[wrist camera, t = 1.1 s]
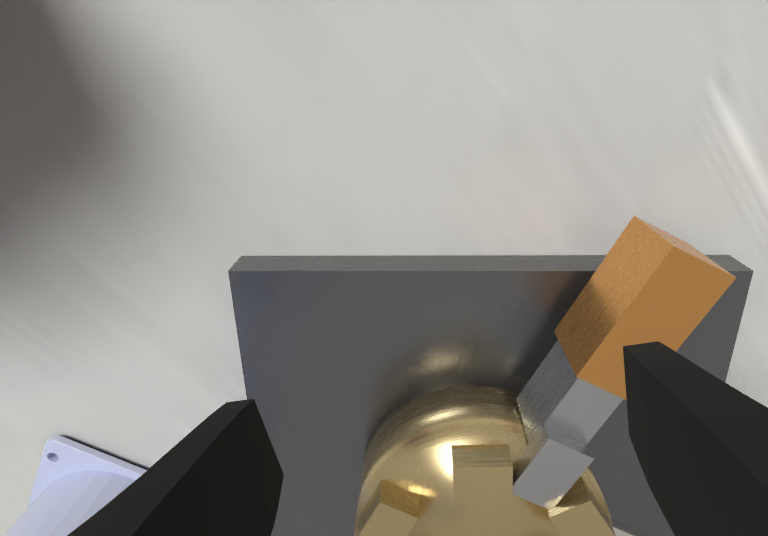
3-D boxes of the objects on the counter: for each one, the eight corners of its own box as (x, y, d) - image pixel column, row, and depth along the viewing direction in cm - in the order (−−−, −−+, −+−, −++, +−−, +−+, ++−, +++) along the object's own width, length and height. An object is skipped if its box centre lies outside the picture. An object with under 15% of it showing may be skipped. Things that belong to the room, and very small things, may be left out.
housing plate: (648, 600, 26) (663, 636, 24) (285, 585, 27) (277, 618, 25) (729, 254, 19) (757, 273, 17) (241, 255, 20) (226, 272, 19)
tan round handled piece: (512, 586, 24) (529, 685, 20) (328, 511, 23) (310, 600, 19) (770, 284, 18) (864, 346, 14) (534, 164, 17) (567, 195, 13)
